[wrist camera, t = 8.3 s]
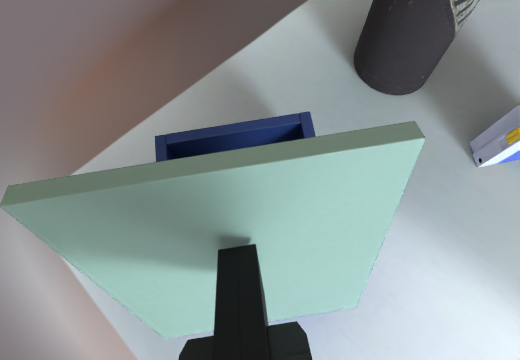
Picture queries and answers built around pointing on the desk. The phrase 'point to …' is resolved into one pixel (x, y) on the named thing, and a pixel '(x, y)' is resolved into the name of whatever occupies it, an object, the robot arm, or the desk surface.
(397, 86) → the container
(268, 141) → the case
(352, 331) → the desk surface
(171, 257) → the case lid
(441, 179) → the desk surface
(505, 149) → the walkman
